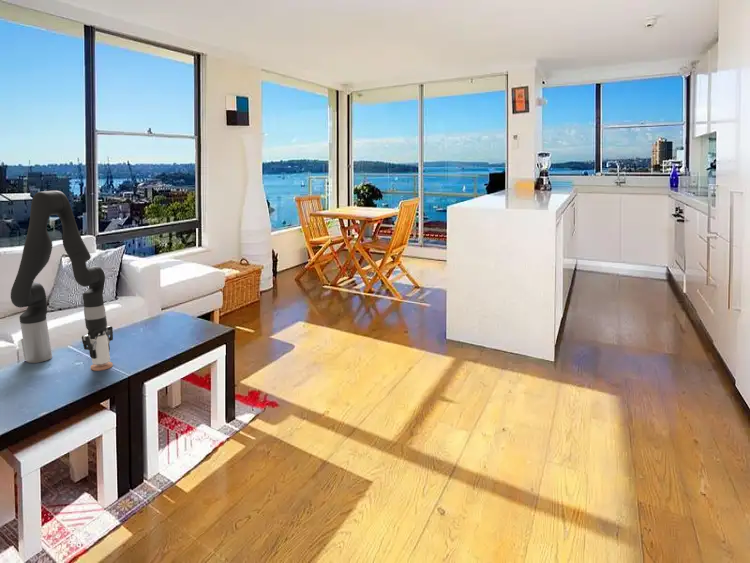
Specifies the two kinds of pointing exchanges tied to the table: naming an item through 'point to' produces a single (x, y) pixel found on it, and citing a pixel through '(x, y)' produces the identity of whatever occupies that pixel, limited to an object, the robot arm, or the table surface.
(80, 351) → the table surface
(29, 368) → the table surface
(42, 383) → the table surface
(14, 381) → the table surface
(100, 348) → the can
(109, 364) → the peach round disc
